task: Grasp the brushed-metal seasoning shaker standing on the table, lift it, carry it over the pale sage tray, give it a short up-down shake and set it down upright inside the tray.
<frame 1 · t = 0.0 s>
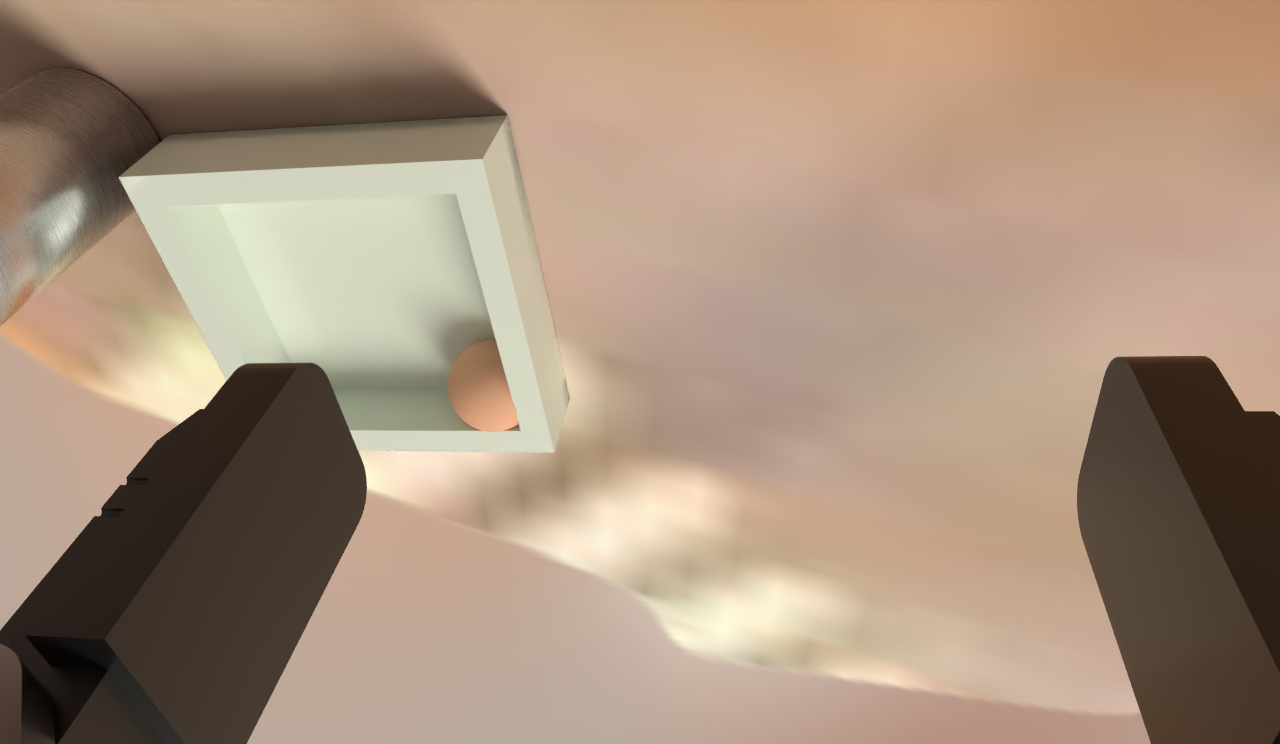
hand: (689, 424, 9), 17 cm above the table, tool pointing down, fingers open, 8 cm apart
shaker: (93, 139, 28), on the table
ball: (506, 356, 32), resting on tray
tray: (386, 277, 30), on the table
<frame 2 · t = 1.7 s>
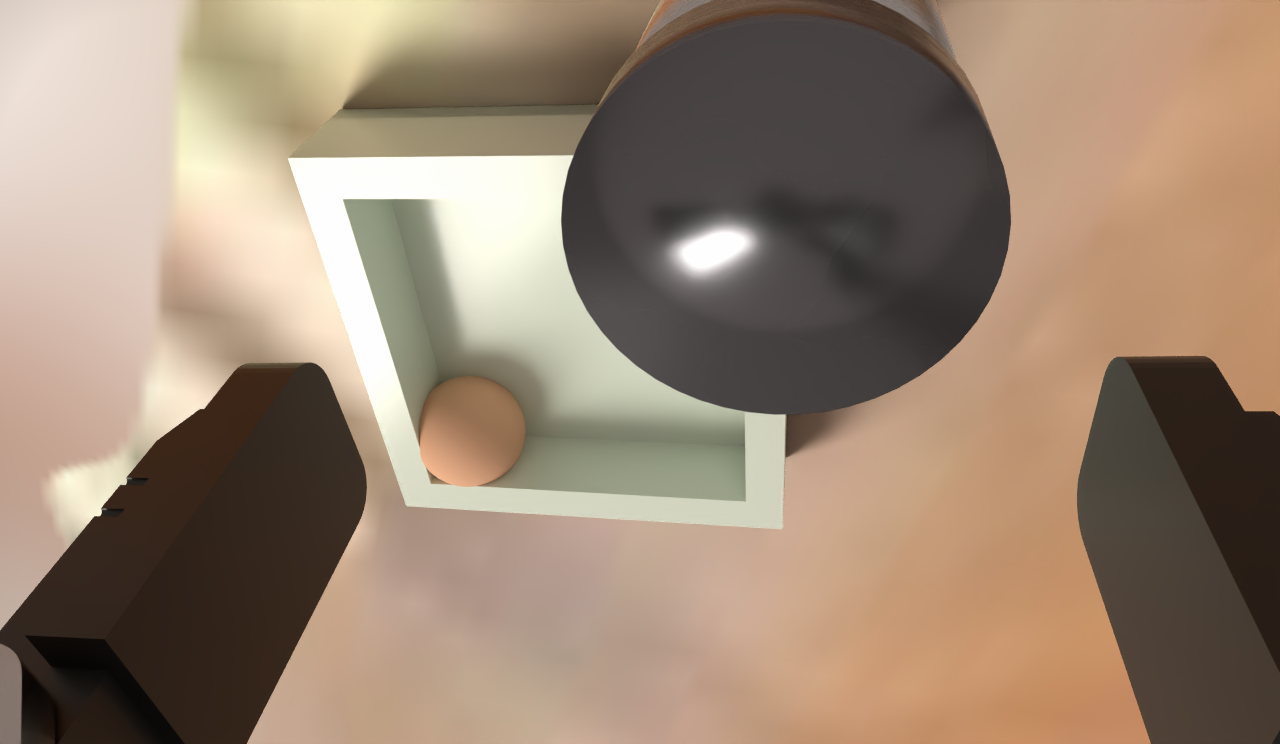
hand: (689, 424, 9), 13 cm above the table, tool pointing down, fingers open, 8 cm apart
ball: (485, 396, 27), resting on tray
tray: (584, 301, 24), on the table
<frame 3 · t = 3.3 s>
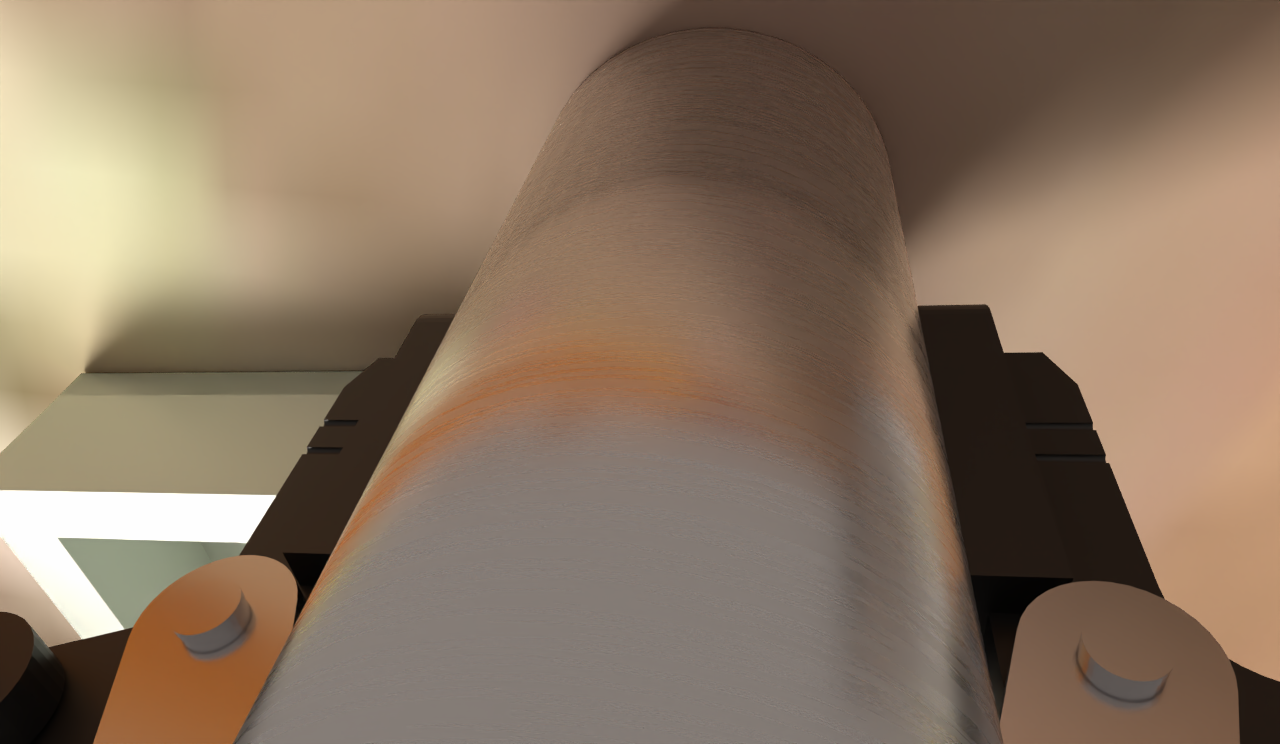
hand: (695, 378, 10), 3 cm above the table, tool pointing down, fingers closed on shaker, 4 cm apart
shaker: (712, 205, 12), on the table, touching gripper
tray: (459, 590, 18), on the table
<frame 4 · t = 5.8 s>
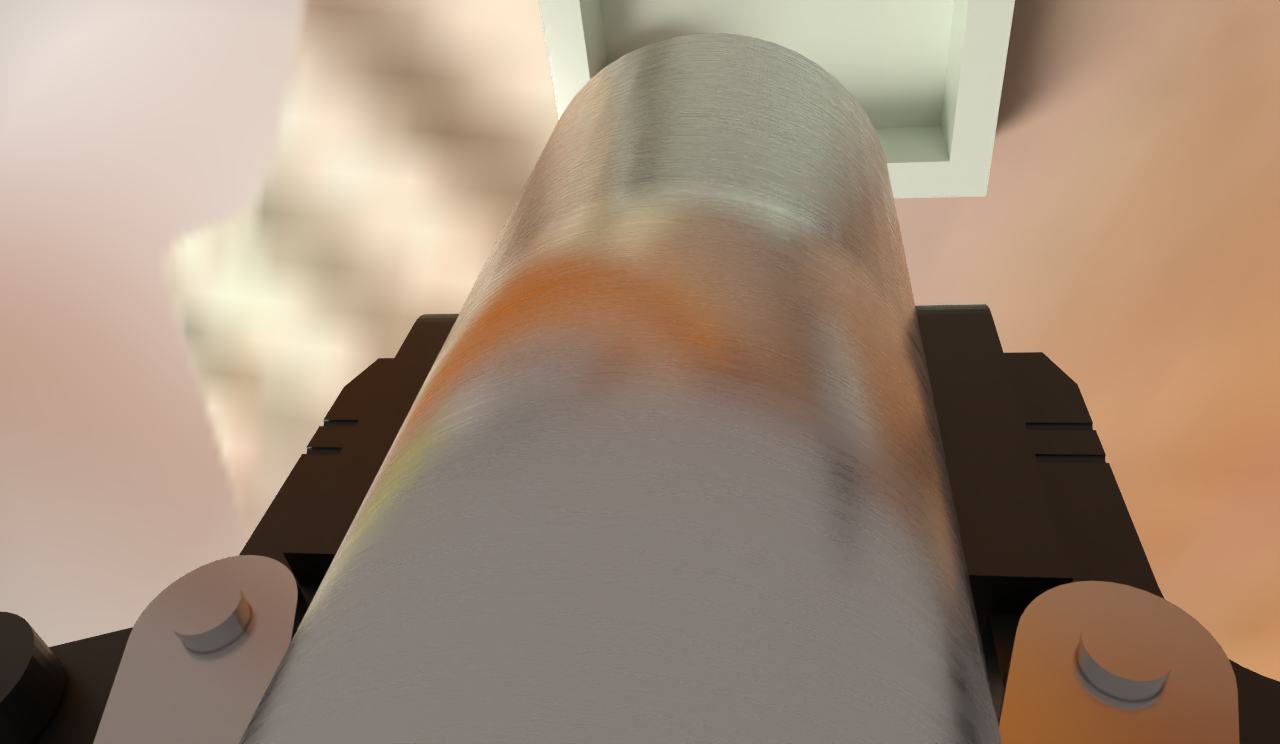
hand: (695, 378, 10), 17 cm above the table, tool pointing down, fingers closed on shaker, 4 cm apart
shaker: (711, 209, 12), point 14 cm above the table, touching gripper
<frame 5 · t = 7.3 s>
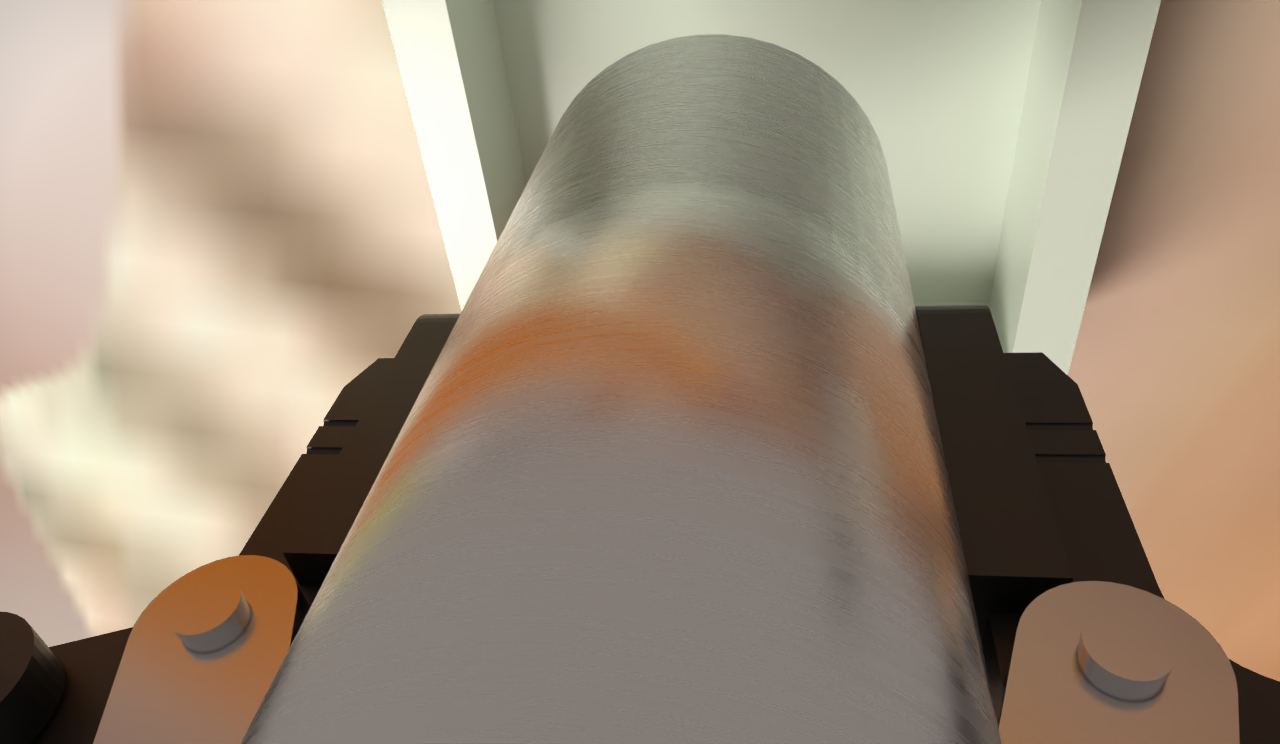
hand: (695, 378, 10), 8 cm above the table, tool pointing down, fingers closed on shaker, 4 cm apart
shaker: (711, 210, 12), point 5 cm above the table, touching gripper
tray: (758, 74, 16), on the table
when the fingers open (5 cm above the table, at t = 8.4 s): shaker drops 1 cm, resting on tray.
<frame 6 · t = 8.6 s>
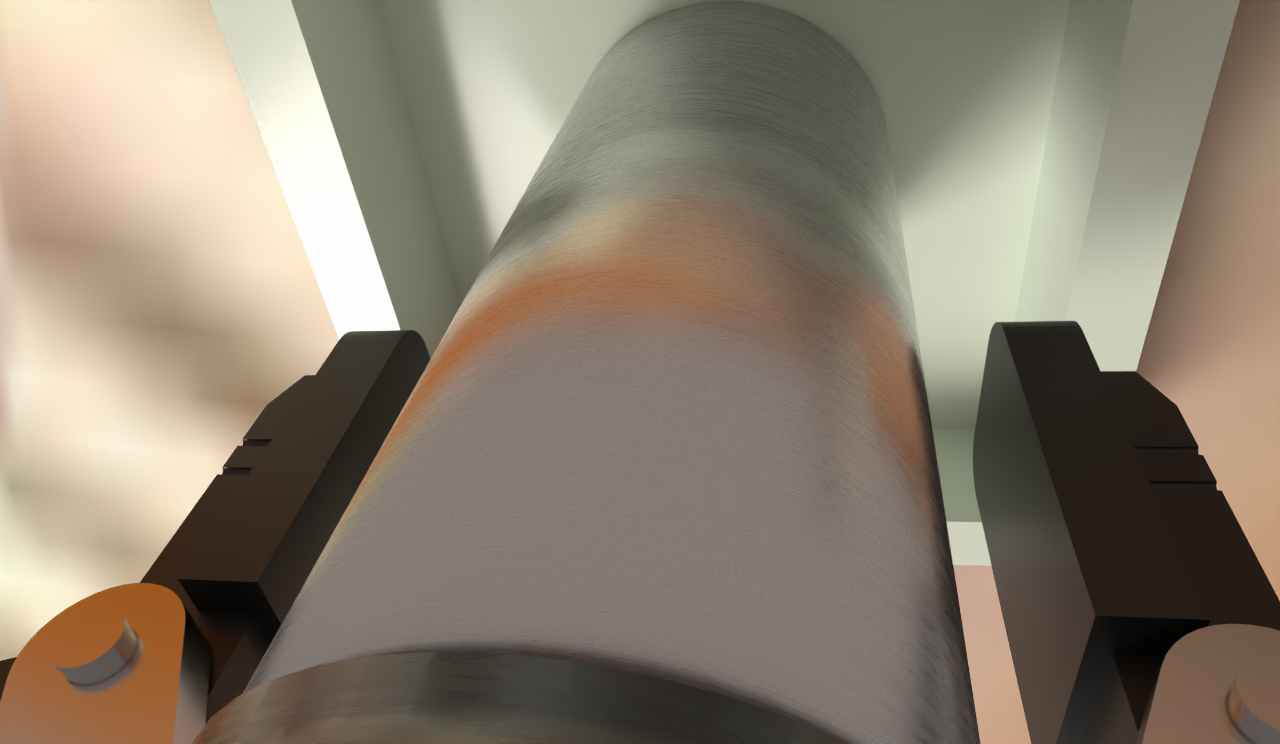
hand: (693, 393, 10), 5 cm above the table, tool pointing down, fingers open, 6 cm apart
shaker: (724, 165, 13), point 1 cm above the table, touching tray
tray: (721, 182, 14), on the table
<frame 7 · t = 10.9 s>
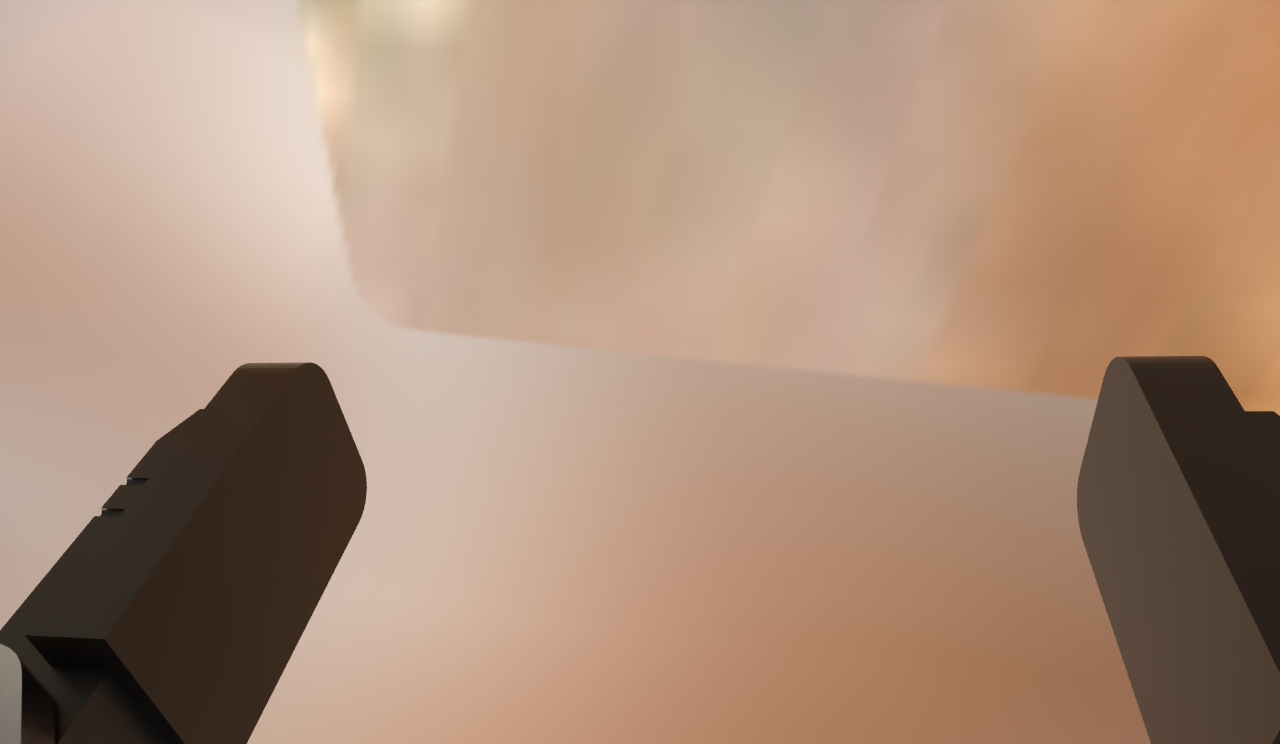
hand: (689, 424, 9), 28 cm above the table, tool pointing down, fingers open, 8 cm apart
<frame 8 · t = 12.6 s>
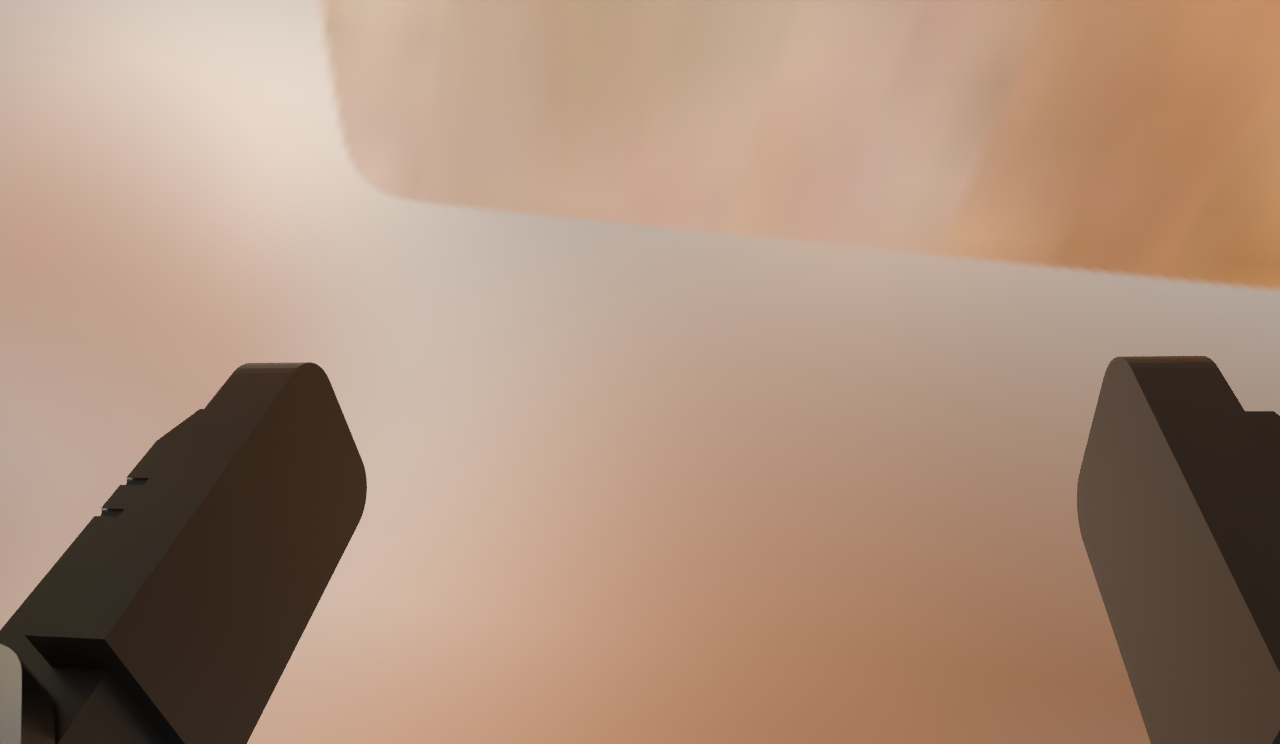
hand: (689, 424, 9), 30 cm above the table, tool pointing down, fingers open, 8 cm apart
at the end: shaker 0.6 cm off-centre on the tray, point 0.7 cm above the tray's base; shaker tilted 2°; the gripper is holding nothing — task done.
